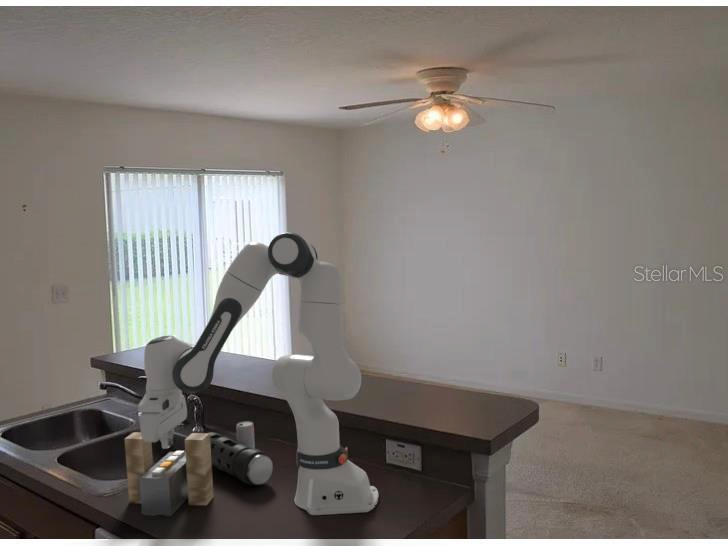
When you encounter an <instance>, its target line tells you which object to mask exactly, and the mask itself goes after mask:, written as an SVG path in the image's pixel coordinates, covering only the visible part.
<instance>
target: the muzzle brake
mask: <svg viewBox="0 0 728 546" xmlns="http://www.w3.org/2000/svg"><path fill="white" fill-rule="evenodd" d="M209 433H210V446H211V462H212V467H215V468H217V469H219V470H221V471H223V472H226V473H228V474H229V475H231V476H234V477H235V478H237V479H239V480H240V481H241V482H243V483H245V484H248V485H250V486H256V485H257V486H261V485H263V484H265V483H266V482H267V481H269V479H270V478H271V476H272V473H273V470H274V468H273V466H274V465H273V461H272V459H271V458H270V456H269V455H268V453H266V452H265V451H262V450H260V449H258V448H256V447H255V448H250V447H248V446H246V445H243V444H241V443H239V442H237V440H233V439H231V438H229V437H226V436H224V435H223V434H219V433H218V432H213V431H211V432H209ZM215 438H217V439H215Z"/></svg>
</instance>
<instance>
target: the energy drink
mask: <svg viewBox="0 0 728 546" xmlns="http://www.w3.org/2000/svg"><path fill="white" fill-rule="evenodd" d="M254 427H255V425H254V422H253V421H247V420H246V421H240V422H238V423H237V424H236V426H235V428H236V442H239V443H241V444H243V445H246V446H248V447H250V448H255V449H256V444H255V443H256V442H255V441H256V440H255V428H254Z"/></svg>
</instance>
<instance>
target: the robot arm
mask: <svg viewBox="0 0 728 546" xmlns="http://www.w3.org/2000/svg"><path fill="white" fill-rule="evenodd" d="M277 274H279V275H282V276H286V277H290V278H293V279H294V278H296V279H297V280H298V281H299V285H300V297H299V298H300V299H299V301H300V302H299V310H298V311H299V314H298V315H299V316H298V317H299V318H298V326H297V327H298V333H299V334H300V335H301V337H303V339H305V340H306V341H308V342H309V344H310V346H311V348H312V355H311V354H310V355H309V354H300V353H295V354H288V355H282V356H280V357H279V358H277V360H276V361H275V362H274V365H273V366H272V369H271V380H272V384H273V386H274V388H275V389H276V390H277V391H278V392H280V393H281V394H282V396H283V397H284V398H285V399H286V401H287V403H288V405H289V407H290V409H291V411H292V413H293V416H294V421H295V426H296V434H297V437H296V438H297V449H296V455H295V456H296V466H297V467H296V468H297V471H298V473H297V485H296V492H295V496H294V504H295V505H296V506H297V507H298V508H300V509H303V510H305V511H306V512H307V513H308V514H309V515H310V516H322V515H340V514H357V513H360V514H361V513H368V512H370V511H372V510H374V508H375V507H376V506H377V504H378V502H379V499H378V498H380V497H379V491H378V489H377V487H376V486H374V485H370V479H369V477H368V474H367V472H366V470H363V469H362V468H360V467H359V466H358V465H356V464H355V463H354V462H352V461H350V460H349V458H348V446H346V447H343V446H342V445H341V443H340V430H339V428H340V425H339V419H338V416H337V415H336V414H335V412H334V411H333V410H332V409H330V408H328V406H327V405H326V404H325V402H324V400H328V401H345V400H350V399H353V398H354V397H355V396H356V395H357V394H358V393H359V391H360V388H361V385H362V372H361V370H360V367H359V365H357V363H356V362H354V360H352V358H351V357H350V356H349V354H348V353H347V350H346V347H345V346H344V343H343V338H342V329H341V328H342V326H341V325H342V324H341V321H342V320H341V319H342V304H343V303H342V299H343V295H342V294H343V291H342V290H343V287H342V277H341V272H340V269H339V268H338V267H337V266H336V265H335V264H333V263H330V262H327V261H320V260H319V259H318V253H317V251H316V249H315V247H314V246H313V245H312V244H311V243H310V241H309V240H308V239H306V238H305V237H304V236H301V235H300V234H298V233H296V232H290V231H289V232H283V233H279V234H278V235H276V236H274V238H273V239H271V241H270V243H269V244H268V245H266V244H264V243H262V242H254V241H252V242H248V243H247V244H245V246H243V248H242V249H241V250H240V251H239V252H238V254H237V255H236V256H235V258H234V260H233V261H232V262H231V263H230V265H229V267H227V269H226V272H225V273H224V275H223V277H222V279H221V281H220V284H219V286H218V288H217V292H216V295H215V300H214V304H213V305H214V306H213V309H212V313H211V316H210V318H209V320H208V323H207V324H206V326H205V328H204V329H203V331H202V333H201V335H200V336H199V338H198V339H197V341H196V343H195V344H193V343H189V342H185V341H184V340H183V341H182V340H180V339H179V338H177V337H175V336H174V335H162V336H158V337H156V338H153V339H151V340H150V341H149V342H147V343H146V345H145V347H144V357H143V359H144V360H143V362H144V364H143V365H144V374H145V377H146V384H145V394H144V395H143V397H142V398H141V400H140V402H139V404H137V411H138V413H141V414H140V416H139V425H140V432H141V436H142V439H143V441H144V442H151V443H156V442H158V441H160V443H161V448H162V449H163V450H164V449H166V450H168V449H169V448H170V447H171V446H172V445H173V444H174V441H173V438H174V434H175V428H176V427H177V426H179V425H180V424H181V423H182V422H183V423H184V421H185V420H186V419H187V417H188V410H187V409H188V408H187V402H186V397H185V395H183V393H186V394H198V393H199V394H200V393H201V392H204V391H206V390H207V389H208V388H209V386H210V385H211V383H212V382H213V378H214V371H215V370H214V369H215V363H216V360H217V358H218V356H219V355H220V354H221V350H222V349H223V347H224V345H225V344H226V343H227V340H228V338H229V336H230V335H231V333H232V331H233V330H234V329H235V327H236V326H237V325H238V324H239V322H240V321H242V319H243V318H244V317H245V315H246V314H247V313H248V312H249V311H250V310H251V309H252V307H253V306H254V305H255V304H256V302H257V301H258V300H259V298H260V296H261V295H262V293H263V292H264V289H265V288H266V286H267V284H269V281H270V279H272V277H273V276H276V275H277ZM375 505H376V506H375Z"/></svg>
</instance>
